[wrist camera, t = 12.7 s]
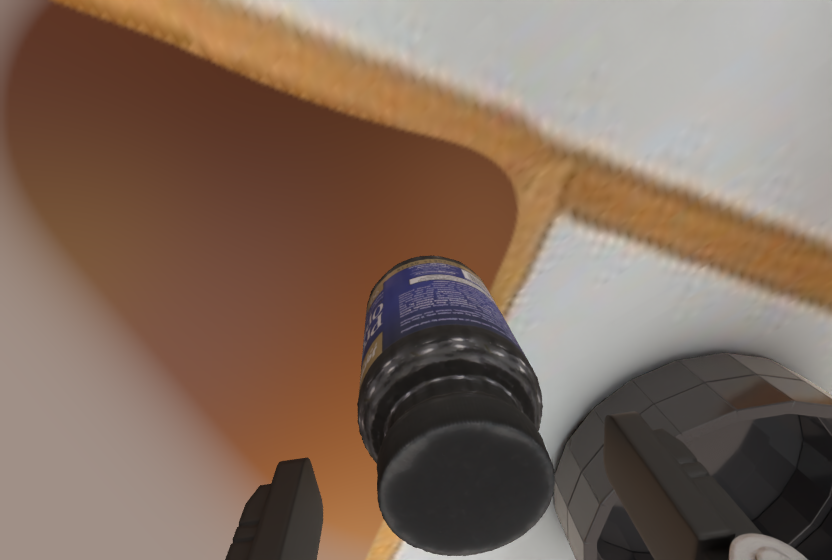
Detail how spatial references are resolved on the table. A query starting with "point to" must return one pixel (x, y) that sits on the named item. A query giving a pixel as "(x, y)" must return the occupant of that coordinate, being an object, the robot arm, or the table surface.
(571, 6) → the table surface
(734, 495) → the pan
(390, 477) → the pill bottle
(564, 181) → the table surface
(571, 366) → the table surface
